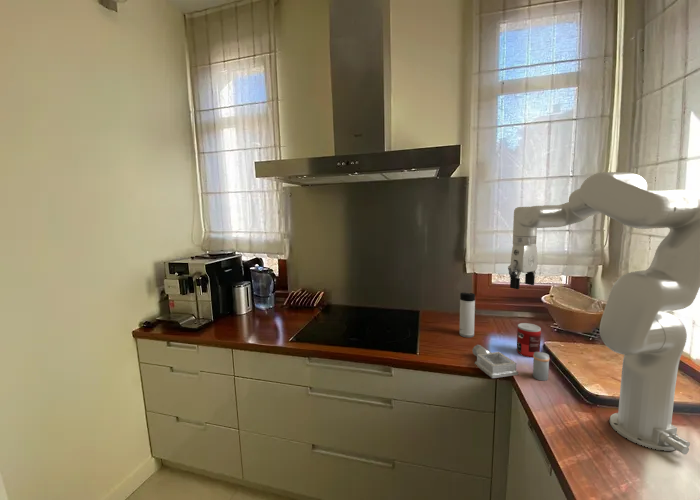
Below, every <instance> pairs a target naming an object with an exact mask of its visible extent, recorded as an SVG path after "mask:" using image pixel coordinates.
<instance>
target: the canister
mask: <svg viewBox="0 0 700 500" xmlns="http://www.w3.org/2000/svg"><path fill="white" fill-rule="evenodd" d="M532 362H533V363H532V364H533V366H532V377H533V378H534V379H535V380H538V381H546V382H547V381H548V380H549V368H550V355H549V354H548V353H546V352H543V351H540V352H534V355H533V361H532Z"/></svg>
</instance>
